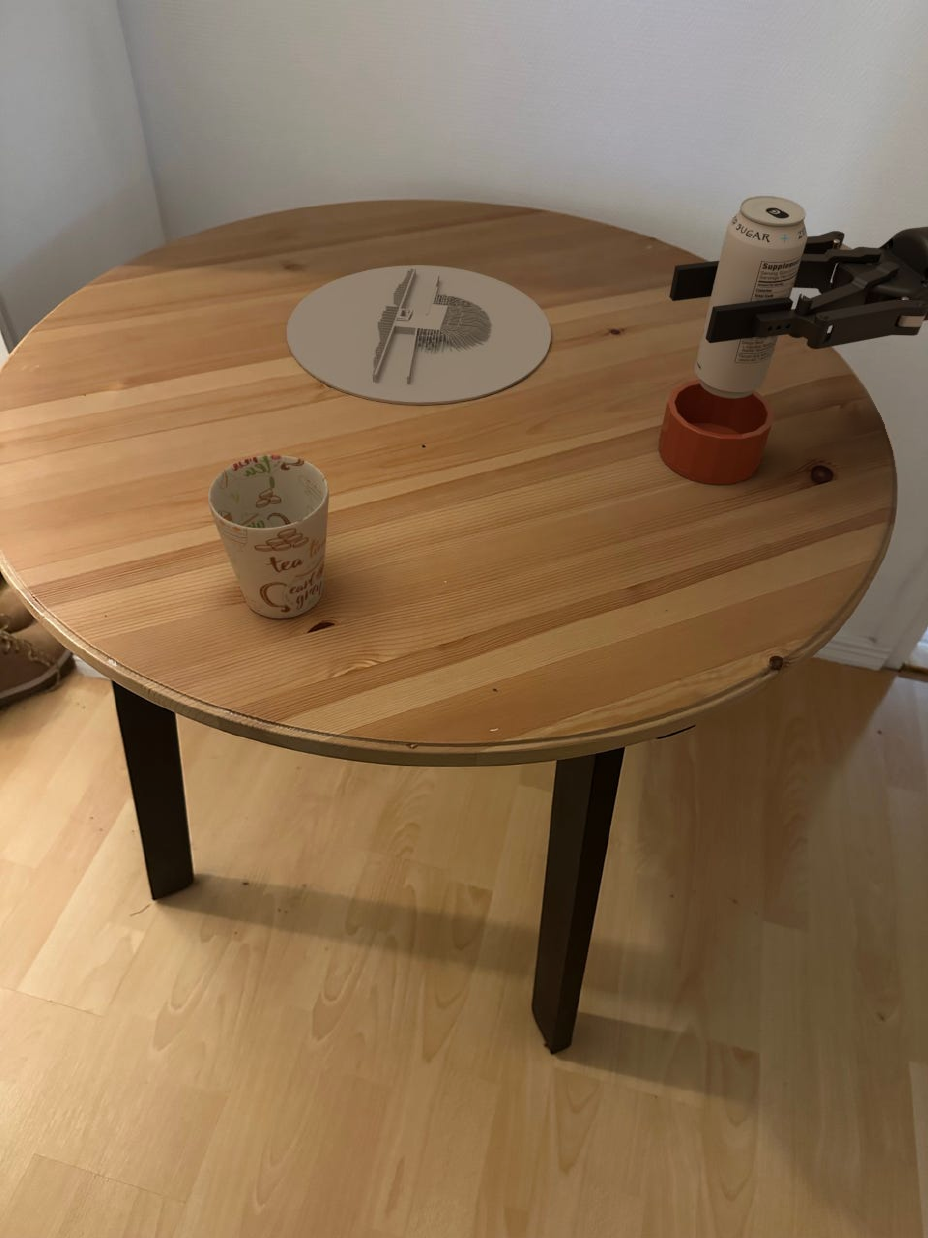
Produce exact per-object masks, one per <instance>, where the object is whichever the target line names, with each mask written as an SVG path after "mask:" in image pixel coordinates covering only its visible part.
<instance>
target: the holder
mask: <svg viewBox="0 0 928 1238" xmlns="http://www.w3.org/2000/svg"><path fill="white" fill-rule="evenodd" d="M774 418H775V412H774V410H773V407H772V405H771V403H770V402H769V401H768V400H767V399H766V398H765V397H764V396H763V395H761V393H759V392H758V391H756V390H755V391H754V392H753V393H752V394H751V395H749V396H747V397H743V398H725V397H720V396H717V395H714V394H712V393H710V392H708V391H707V390H705V389H704V388H703V387H702V386H701V384H700V382H699V379H695V380H690V381H687V382H683V383H682V384H680V385H679V386H678V387H676V388H674V389H673V390H672V391H671V393H670V395H669V397H668V400H667V403H666V407H665V412H664V417H663V421H662V426H661V430H660V434H659V440H658V452H659V455H660V458H661V459H662V461H663V462H664V464H665V465H666V466H667V467H668V468H669V469H671V470H672V471H673V472H674V473H676V474H678V475H680V476H681V477H684V478H686V479H688V480H691V481H694V482H696V483H701V484H706V485H717V486H721V485H726V486H727V485H733V484H737V483H740V482H743V481H745V480H747V479H749V478H751V477H752V476H753V475H754V474H755V473H756V472H757V471H758V469H759V467H760V463H761V460H762V457H763V454H764V451H765V448H766V445H767V441H768V438H769V435H770V432H771V430H772V425H773V423H774Z"/></svg>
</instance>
